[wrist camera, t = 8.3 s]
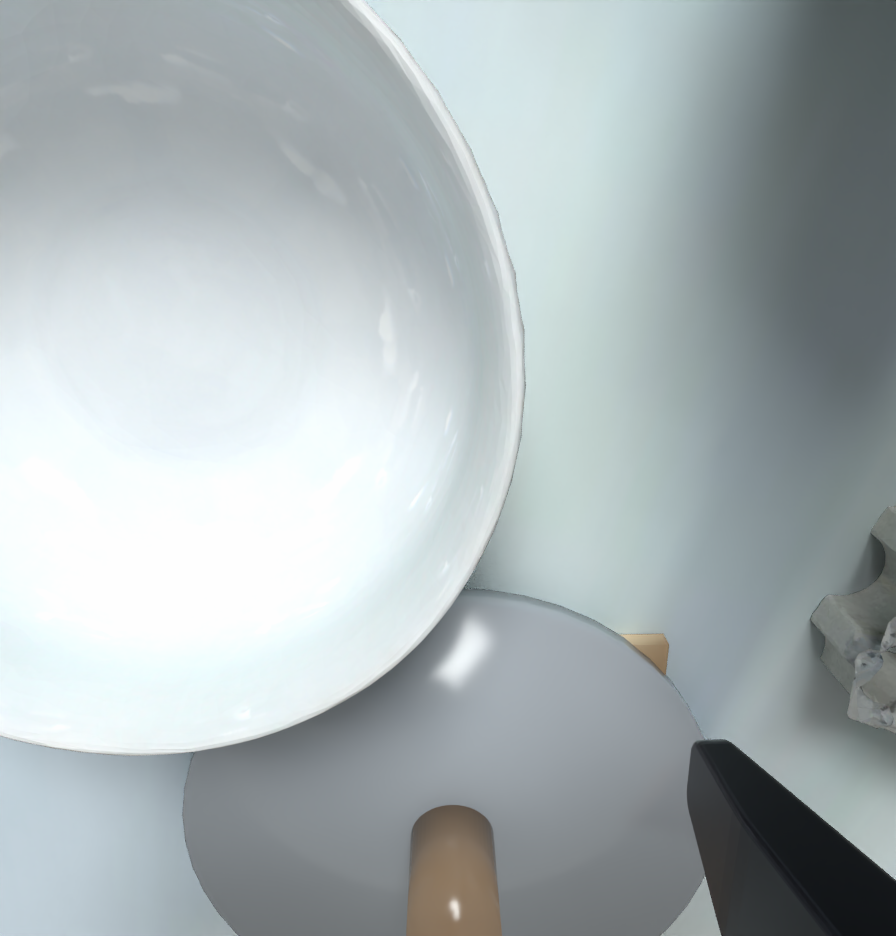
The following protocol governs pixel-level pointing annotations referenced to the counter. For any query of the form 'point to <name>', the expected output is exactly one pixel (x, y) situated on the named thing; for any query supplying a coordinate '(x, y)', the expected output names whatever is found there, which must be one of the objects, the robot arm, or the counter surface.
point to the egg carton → (865, 637)
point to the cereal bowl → (235, 367)
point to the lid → (463, 793)
